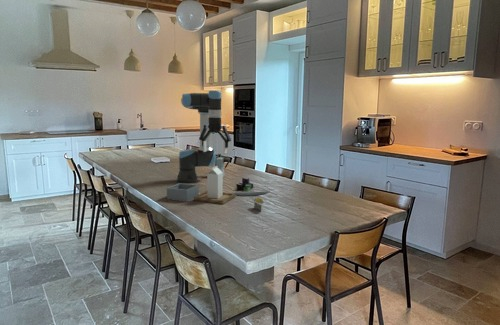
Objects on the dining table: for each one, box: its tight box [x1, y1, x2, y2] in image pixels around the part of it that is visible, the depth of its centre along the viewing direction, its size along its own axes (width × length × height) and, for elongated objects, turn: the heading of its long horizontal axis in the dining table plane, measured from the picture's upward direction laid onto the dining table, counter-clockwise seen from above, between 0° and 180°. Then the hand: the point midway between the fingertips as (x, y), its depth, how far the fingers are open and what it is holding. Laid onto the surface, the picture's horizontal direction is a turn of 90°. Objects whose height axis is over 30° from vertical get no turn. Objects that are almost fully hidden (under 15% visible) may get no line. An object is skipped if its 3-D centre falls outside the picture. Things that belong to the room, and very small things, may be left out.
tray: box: [193, 190, 237, 205], centre depth 218 cm, size 20×18×2 cm
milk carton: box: [206, 165, 224, 199], centre depth 217 cm, size 7×7×19 cm
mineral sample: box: [233, 177, 269, 197], centre depth 242 cm, size 35×35×9 cm
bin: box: [166, 182, 200, 202], centre depth 219 cm, size 14×14×7 cm
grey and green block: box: [251, 197, 266, 212], centre depth 198 cm, size 12×18×7 cm, turn 27°
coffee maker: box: [214, 153, 230, 178], centre depth 281 cm, size 15×9×18 cm, turn 68°
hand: (214, 152), depth 214 cm, fingers open, 13 cm apart
